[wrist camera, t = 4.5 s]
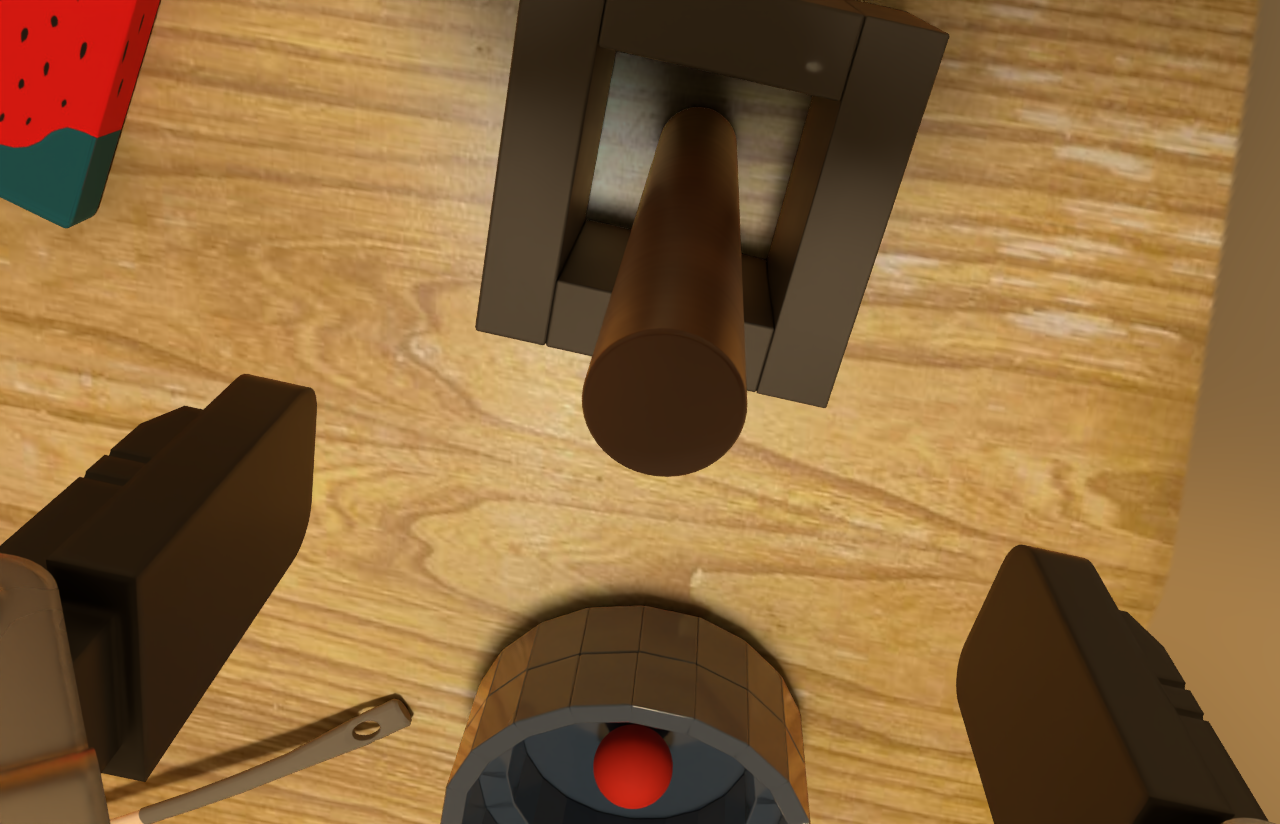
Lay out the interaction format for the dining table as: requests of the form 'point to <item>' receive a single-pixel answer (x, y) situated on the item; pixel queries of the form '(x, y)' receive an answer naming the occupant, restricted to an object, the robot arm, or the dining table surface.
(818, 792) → the dining table surface
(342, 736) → the ladle
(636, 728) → the bead
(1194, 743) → the robot arm
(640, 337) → the stick
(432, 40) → the dining table surface
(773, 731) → the dark grey round dish
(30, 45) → the popsicle
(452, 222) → the dining table surface
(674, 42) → the holder
